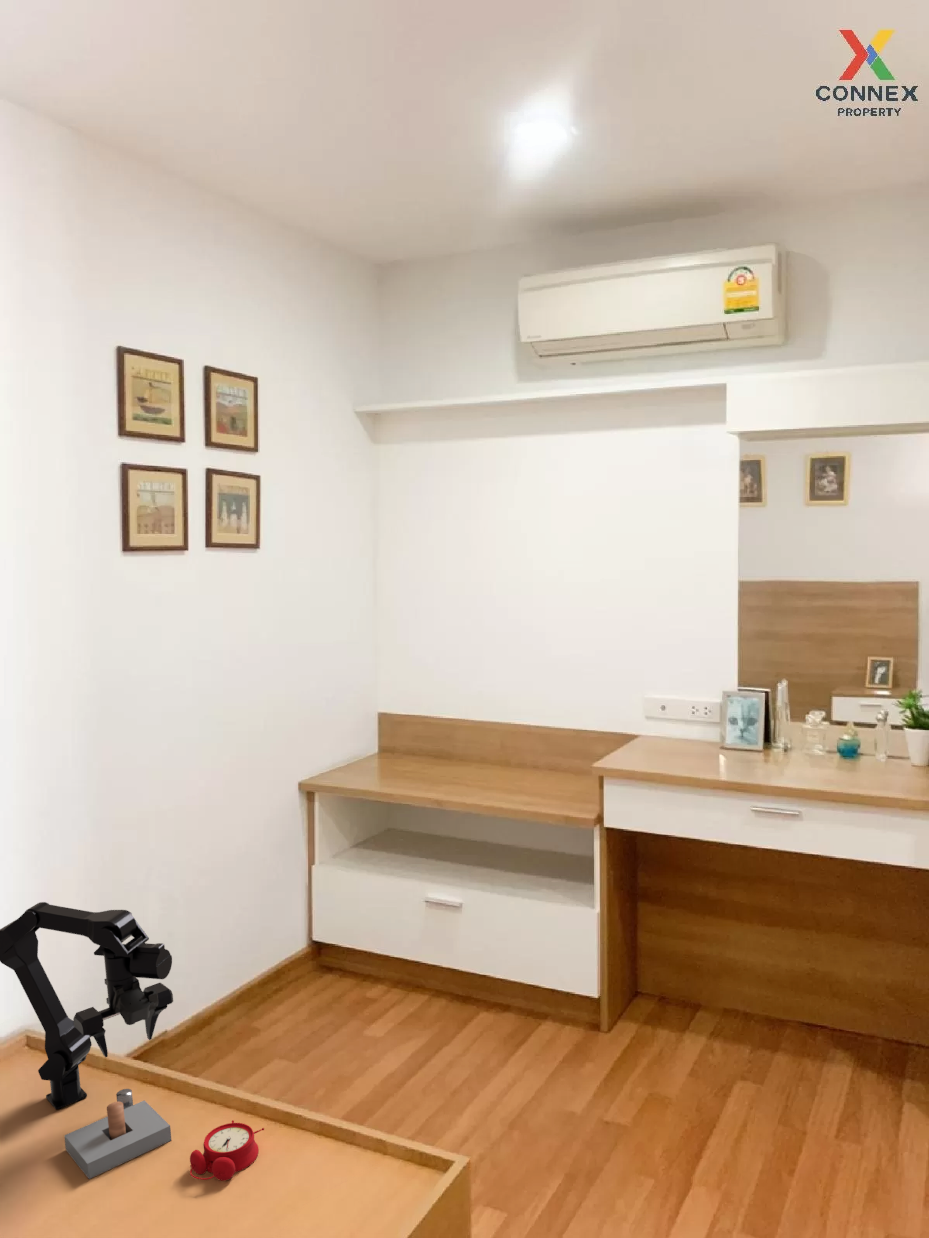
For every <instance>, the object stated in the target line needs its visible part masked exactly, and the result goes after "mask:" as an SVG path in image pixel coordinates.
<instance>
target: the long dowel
mask: <svg viewBox="0 0 929 1238" xmlns="http://www.w3.org/2000/svg"><path fill="white" fill-rule="evenodd" d="M106 1113H107V1116H108V1126H109V1136H110V1140H113V1139H115V1138H117V1137H120V1136H122V1135H124V1134H126V1128H125V1117H124V1107H123V1103H122V1102H117V1101H114V1102H111V1103H109V1104H108V1105H107V1106H106ZM107 1116H106V1117H107Z"/></svg>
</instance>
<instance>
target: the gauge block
mask: <svg viewBox="0 0 929 1238" xmlns="http://www.w3.org/2000/svg"><path fill="white" fill-rule="evenodd" d="M124 1117H125V1128H126V1134H124V1135H122V1136H120V1137H117V1138H115V1139H113V1140H110V1136H109V1126H108V1116H105V1117H103V1118H101V1119H98V1120H96V1121H94V1122H91V1123H90V1124H86V1125H85V1126H83V1127H80V1128H78V1129H76V1130H73V1131H71V1132H69V1133H66V1134H65V1135H63V1136H64V1137H63V1138H64V1145H65V1151H66V1153H67V1154H69V1155H68V1156H70V1157H71V1158H72V1160H73V1161H74V1162H75V1163H76V1165H77V1166H78V1167H79V1168H80V1171H82V1173H84V1175H85V1176H86V1177H87V1179H88V1180H90V1179H92V1178H94V1177H97V1176H99V1175H101V1174H103V1173H105V1172H107V1171H110V1170H112V1169H113V1168H116V1167H117V1166H120V1165H122V1164H124V1163H127V1162H128V1161H130V1160H131V1161H132V1160H133V1159H134V1158H137V1157H139V1156H141V1155H144V1154H145V1153H148V1152H150V1151H152V1150H154V1149H157V1148H158V1147H161V1146H163V1145H164V1144H167V1143H169V1142H171V1141H172V1131H171V1130H172V1129H171V1125H170V1124H169V1123H168V1121H166V1120H165V1119H164V1118H163V1117H162V1116H161V1115H160V1114H159V1113H158V1112H157V1111H156V1110H155V1109H154V1108H153V1107H152V1105H150V1104H149V1103H148V1102H147V1101H146V1100H141V1101H139V1102H137V1103H134V1104H133V1106H130V1107H128V1108H126V1109H124Z"/></svg>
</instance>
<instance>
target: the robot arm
mask: <svg viewBox="0 0 929 1238" xmlns="http://www.w3.org/2000/svg"><path fill="white" fill-rule="evenodd" d="M39 929H44V930H50V931H55V932H56V931H57V932H61V933H66V934H73V935H78V936H83V937H85V938H88V939H89V940H90V941H91V942H92V943H93V944H95V945H97V946H99V947H98V948H97V949H95V951H94V952H93V955H94V956H98V957H99V956H100V957H103V959H104V969H105V970H104V971H105V978H104V985H106V989H107V990H106V991H107V997H106V998H105V1000H106V1004H107V1005H108V1007H107V1008H105V1009H104V1008H103V1009H102V1010H97V1009H96V1008H95V1007H94V1006H92V1007H89V1008H86V1009H83V1010H81V1011H77V1012H76V1013H75V1014H74V1016H73V1020H72V1019H71V1018H70V1017H69V1016H68V1014H67V1012H66V1011H65V1009H64V1006H63V1004H62V1002H61V1001H60V998H59V997H58V994H57V993H56V990H55V989H54V987H53V985H52V983H51V981H50V979H49V977H48V975H47V973H46V971H45V969H44V967H43V964H42V963H41V961H40V959H39V957H38V956H39V953H38V952H39V940H38V936H37V934H36V933H37V931H38V930H39ZM130 937H133V938H132V939H130V940H128V942H127V943H124V942H125V941H126V940H127V939H129V938H130ZM149 940H150V938H149V936H148V935H147V934H146V932H145V930H144V929H143V928H142V927H141V926H140V924H139V923H138V922H137V920H136V918H135V917H134V916H133V913H132V912H130V911H129V910H127V909H110V910H109V909H108V910H104V911H99V912H97V911H96V912H93V911H88V910H82V909H76V908H70V907H65V906H60V905H54V904H50V903H49V902H46V901H41V902H37V903H36V904H34V905H33V906H31V907H29V908H28V909H26V910H25V911H24V912H23V913H22V914H21V915H20V916H19V917H18V918H17V919H15V920H13V921H12V922H10V923H8V924H7V925H5V926H3V927H2V928H0V964H3V965H4V966H6V967H8V968H9V969H11V970H13V971H14V973H15V975H16V977H17V979H18V981H19V983H20V985H21V987H22V989H23V990H24V991H23V992H25V995H26V997H27V998H28V1000H29V1002H30V1004H31V1006H32V1007H31V1008H32V1009H33V1010H34V1012H35V1014H36V1016H37V1018H38V1021H39V1022H40V1024H41V1027H42V1028H43V1030H44V1033H45V1035H44V1051H45V1053H46V1057H47V1060H46V1061H45V1062H44V1063H43V1064H42V1065H41V1066H40V1068H39V1069H37V1072H38V1074H39V1077H40V1079H41V1080H42V1081H49V1083H50V1091H51V1092H50V1093H47V1094H46V1095H45V1098H46V1100H47V1101H48V1102H49V1103H50V1104H51V1106H52V1107H53V1108H54V1109H55V1110H59V1109H61V1108H64V1107H66V1106H69V1105H71V1104H73V1103H76V1102H78V1101H80V1100H84V1099H86V1098H87V1097H88V1094H87V1093H86V1091H85V1090H84V1089H83V1088H82V1087H81V1081H80V1080H81V1079H80V1069H79V1065H81V1063H83V1062H84V1061H86V1059H87V1055H88V1054H89V1053H90V1051H91V1047H92V1045H93V1044H92V1041H91V1038H93V1039H94V1040H95V1042H96V1044H97V1046H98V1048H99V1049H100V1052H101V1054H102V1055H103V1057H104V1058H108V1055H109V1054H108V1052H109V1051H108V1047H107V1040H106V1036H105V1034H106V1029H105V1028H104V1025H105V1024H104V1021H105V1020H107V1019H111V1018H114V1017H116V1016H119V1015H120V1016H121V1018H122V1019H123V1020H124V1023H125V1024H126V1025H127V1026H128V1025H129V1026H132V1025H135V1024H136V1023H138V1022H141V1021H144V1024H145V1032H146V1036H147V1037H146V1038H147V1040H149V1041H151V1040H152V1039H153V1034H154V1032H155V1031H154V1030H155V1026H156V1024H157V1021H158V1018H159V1015H160V1014H161V1013H162V1012H163V1011H164V1010H166V1009H167V1008H168V1005H172V1004H173V1003H174V995H173V992H172V990H171V989H170V988H168V987H167V986H166V985H165V984H164V983H162V982H158V983H155V984H151V985H149V986H146V987H144V989H143V990H142V988H141V986H140V985H141V984H140V980H139V979H140V978H141V979H153V980H165V979H166V978H167V977H168V976H169V974H170V972H171V969H172V965H173V956H172V955H171V952H170V950H168V949H167V948H166V947H165V943H148V942H147V941H149ZM138 978H139V979H138Z"/></svg>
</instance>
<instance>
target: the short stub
mask: <svg viewBox="0 0 929 1238" xmlns="http://www.w3.org/2000/svg"><path fill="white" fill-rule="evenodd" d="M115 1097H116V1102H122V1103H123V1107H124V1109H126V1108H128V1107H130V1106H133V1105H134V1102H133V1101H134V1099H133V1091H132V1089H130V1088H122V1089H120V1090H119V1091H117V1092H116V1094H115Z"/></svg>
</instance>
